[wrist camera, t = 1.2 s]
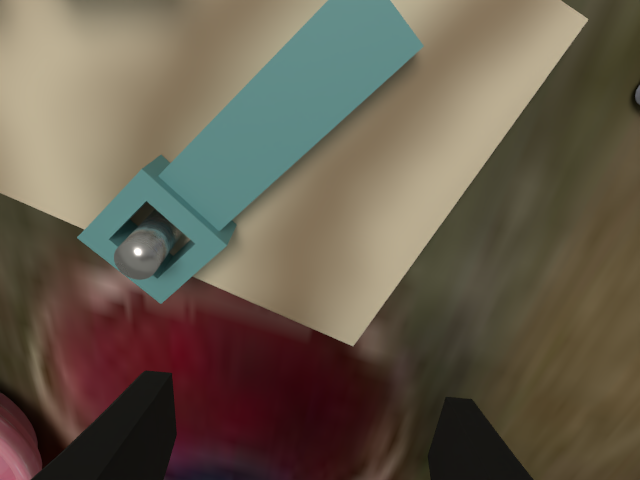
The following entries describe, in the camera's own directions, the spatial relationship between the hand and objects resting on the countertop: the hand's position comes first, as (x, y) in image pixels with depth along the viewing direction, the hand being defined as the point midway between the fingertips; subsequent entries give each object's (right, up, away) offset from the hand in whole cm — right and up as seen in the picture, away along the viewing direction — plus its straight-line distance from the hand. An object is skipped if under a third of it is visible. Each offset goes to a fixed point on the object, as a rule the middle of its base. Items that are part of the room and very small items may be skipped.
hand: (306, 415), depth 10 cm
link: (-2, +8, +5) cm, 10 cm away
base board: (-4, +10, +6) cm, 12 cm away
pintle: (-6, +5, +7) cm, 10 cm away
